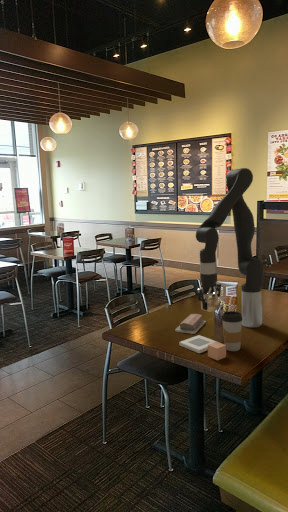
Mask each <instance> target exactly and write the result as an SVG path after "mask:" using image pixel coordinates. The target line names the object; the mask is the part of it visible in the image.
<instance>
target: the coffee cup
mask: <svg viewBox="0 0 288 512" xmlns="http://www.w3.org/2000/svg"><path fill="white" fill-rule="evenodd" d="M221 320H222V334H223V335H222V336H223V342H224V343H223V344H224V345H226V351H229V352H238V351H240V349H241V343H242V331H243V329H242V328H243V325H242V312H238V311H234V310H233V311H224V312H223V313H222V316H221Z"/></svg>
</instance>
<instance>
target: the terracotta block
mask: <svg viewBox="0 0 288 512" xmlns="http://www.w3.org/2000/svg"><path fill="white" fill-rule="evenodd" d="M207 357H208V358H211V359H213V360H216V361H220V360H222V359H225V358H226V357H227V350H226V345H224V343H222V342H219V341H217V342H214V343H212V344H209V345H208V350H207Z"/></svg>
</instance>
